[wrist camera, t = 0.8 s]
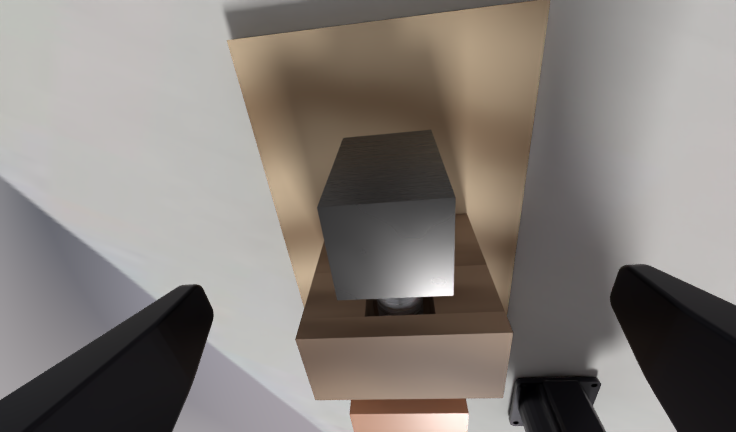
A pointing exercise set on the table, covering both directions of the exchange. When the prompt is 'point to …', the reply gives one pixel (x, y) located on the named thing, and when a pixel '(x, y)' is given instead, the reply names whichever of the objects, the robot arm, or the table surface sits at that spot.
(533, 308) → the table surface
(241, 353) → the table surface
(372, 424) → the spacer
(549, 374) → the table surface
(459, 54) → the base plate
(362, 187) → the shaft
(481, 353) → the bearing block
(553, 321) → the table surface
